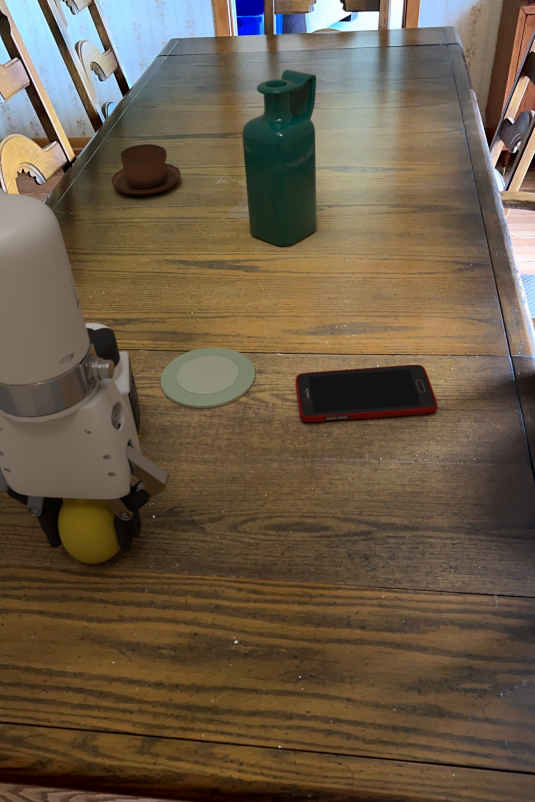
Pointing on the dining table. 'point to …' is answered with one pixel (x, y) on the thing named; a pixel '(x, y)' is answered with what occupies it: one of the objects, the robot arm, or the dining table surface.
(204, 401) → the saucer
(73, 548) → the lemon
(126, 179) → the cup and saucer
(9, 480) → the robot arm
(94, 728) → the dining table surface
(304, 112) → the pitcher
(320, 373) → the cell phone
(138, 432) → the medicine bottle
